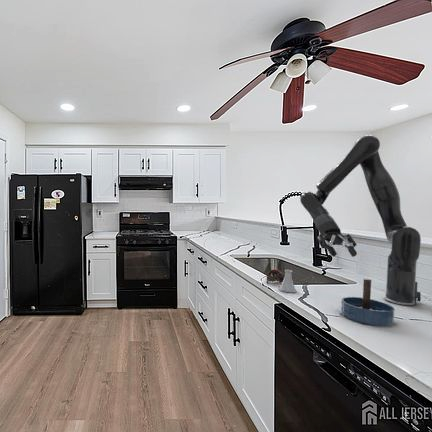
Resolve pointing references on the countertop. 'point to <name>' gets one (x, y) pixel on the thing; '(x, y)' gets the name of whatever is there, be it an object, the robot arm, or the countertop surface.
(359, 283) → the countertop surface
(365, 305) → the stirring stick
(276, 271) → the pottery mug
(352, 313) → the mixing bowl
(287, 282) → the flask
